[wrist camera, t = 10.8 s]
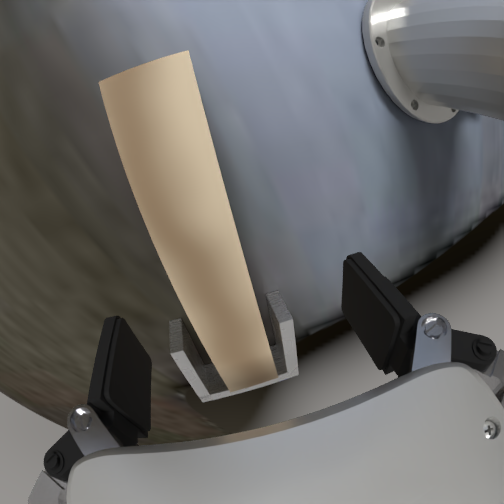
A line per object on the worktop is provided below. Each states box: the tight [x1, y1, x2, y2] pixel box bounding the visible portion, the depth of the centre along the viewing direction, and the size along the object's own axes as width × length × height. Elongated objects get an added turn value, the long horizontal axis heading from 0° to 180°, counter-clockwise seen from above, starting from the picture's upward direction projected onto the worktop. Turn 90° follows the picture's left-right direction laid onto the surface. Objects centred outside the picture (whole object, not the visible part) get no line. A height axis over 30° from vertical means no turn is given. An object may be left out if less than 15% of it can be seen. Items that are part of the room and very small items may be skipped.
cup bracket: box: [169, 290, 299, 402], centre depth 22 cm, size 9×8×4 cm
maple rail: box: [99, 51, 278, 392], centre depth 16 cm, size 4×22×5 cm, turn 13°
